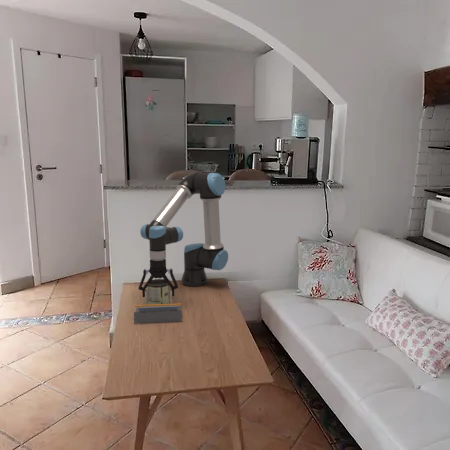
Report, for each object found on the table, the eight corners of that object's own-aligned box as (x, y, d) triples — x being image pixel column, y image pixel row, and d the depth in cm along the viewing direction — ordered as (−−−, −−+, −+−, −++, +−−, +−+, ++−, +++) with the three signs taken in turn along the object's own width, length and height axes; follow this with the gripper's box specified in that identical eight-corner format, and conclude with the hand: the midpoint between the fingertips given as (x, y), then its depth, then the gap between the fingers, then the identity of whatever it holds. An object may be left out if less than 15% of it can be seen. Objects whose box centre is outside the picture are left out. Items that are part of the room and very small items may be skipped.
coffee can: (151, 306, 213) (150, 278, 211) (171, 306, 212) (171, 279, 210) (145, 313, 203) (144, 284, 200) (166, 314, 202) (166, 285, 199)
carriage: (182, 312, 201) (182, 302, 200) (182, 314, 198) (182, 304, 197) (134, 314, 198) (134, 304, 197) (133, 316, 195) (133, 306, 194)
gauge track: (180, 307, 211) (180, 297, 211) (181, 321, 193) (181, 311, 192) (136, 309, 209) (136, 299, 208) (134, 323, 190) (133, 313, 190)
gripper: (182, 256, 208) (183, 299, 212) (132, 257, 205) (134, 301, 209) (183, 260, 201) (183, 304, 205) (131, 261, 198) (133, 306, 201)
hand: (158, 303), depth 207 cm, fingers open, 11 cm apart
